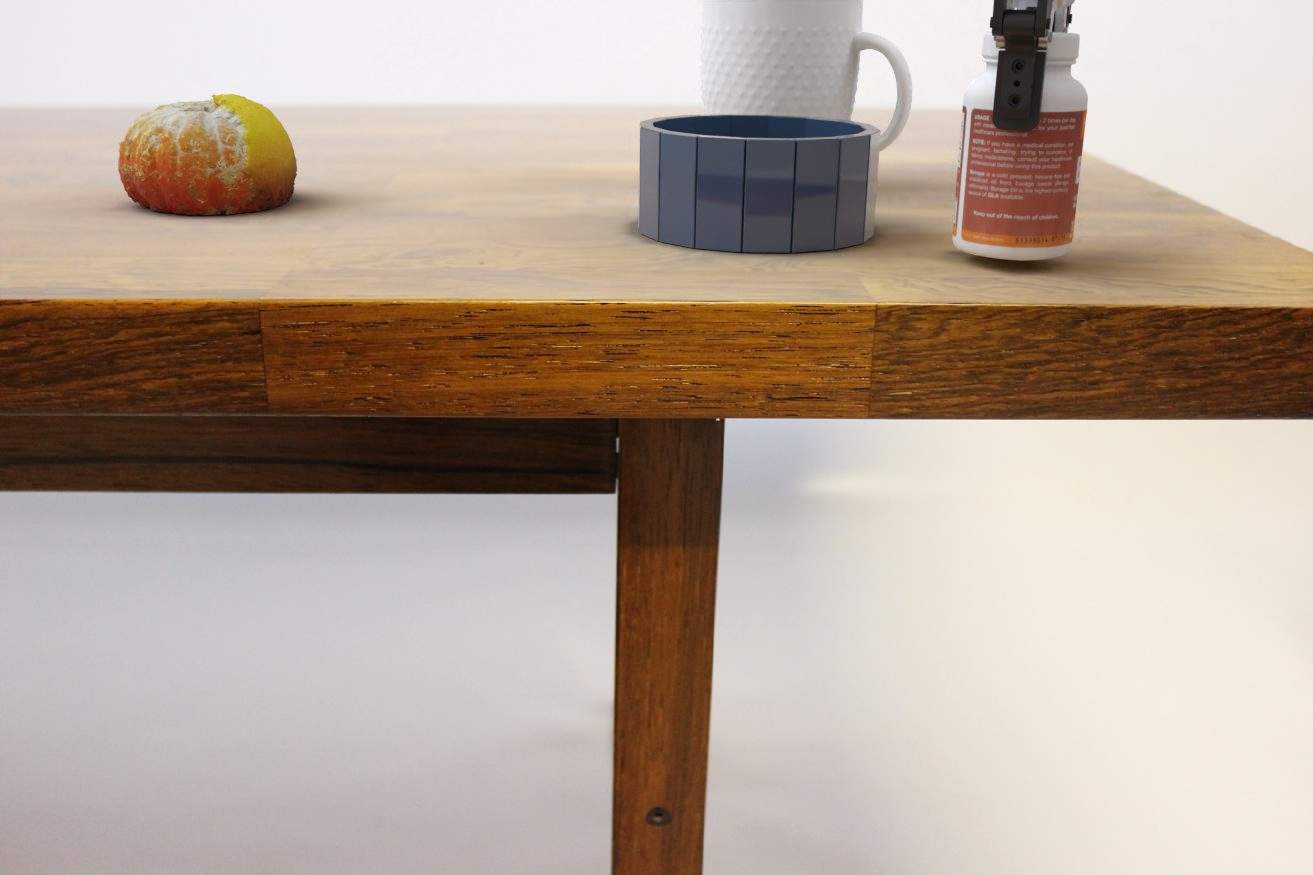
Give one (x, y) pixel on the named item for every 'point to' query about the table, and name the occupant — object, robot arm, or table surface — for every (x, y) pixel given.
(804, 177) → the pot
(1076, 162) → the pill bottle
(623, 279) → the table surface
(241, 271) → the table surface
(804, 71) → the mug
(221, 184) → the fruit
